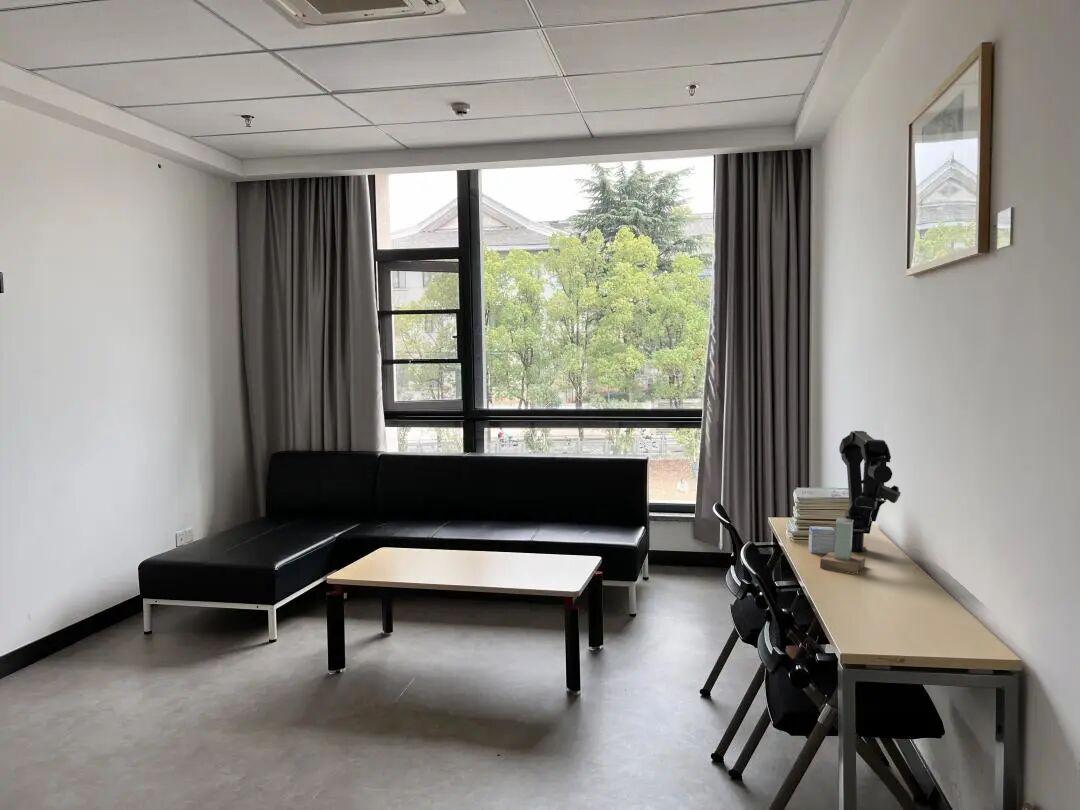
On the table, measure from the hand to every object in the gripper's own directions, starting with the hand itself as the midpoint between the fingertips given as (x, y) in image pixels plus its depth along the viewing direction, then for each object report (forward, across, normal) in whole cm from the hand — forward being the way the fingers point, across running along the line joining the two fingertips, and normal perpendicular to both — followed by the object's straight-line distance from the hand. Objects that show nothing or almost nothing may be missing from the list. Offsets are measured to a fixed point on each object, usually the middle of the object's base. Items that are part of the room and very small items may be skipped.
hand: (870, 523), depth 257 cm
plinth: (+13, -12, +5) cm, 18 cm away
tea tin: (+10, -12, +5) cm, 16 cm away
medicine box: (+13, +2, +16) cm, 21 cm away
